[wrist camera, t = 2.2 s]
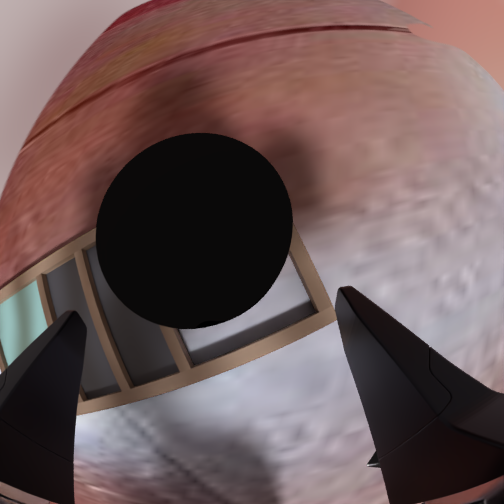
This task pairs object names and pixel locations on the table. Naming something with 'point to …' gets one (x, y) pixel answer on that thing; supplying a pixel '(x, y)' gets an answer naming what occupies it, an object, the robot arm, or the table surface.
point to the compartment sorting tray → (129, 328)
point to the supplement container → (194, 231)
